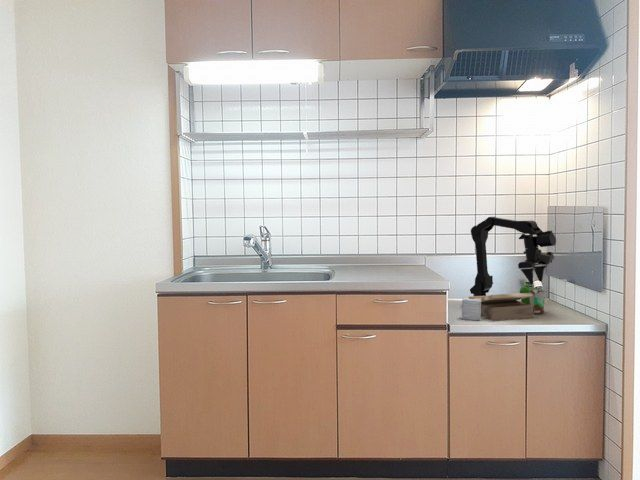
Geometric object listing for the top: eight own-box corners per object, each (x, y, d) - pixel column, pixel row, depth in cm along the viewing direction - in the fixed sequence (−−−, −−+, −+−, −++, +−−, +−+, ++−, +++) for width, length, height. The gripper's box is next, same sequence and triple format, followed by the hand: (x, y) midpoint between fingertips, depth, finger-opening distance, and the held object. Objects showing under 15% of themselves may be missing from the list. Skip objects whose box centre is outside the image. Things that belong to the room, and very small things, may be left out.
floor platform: (468, 311, 242) (468, 296, 242) (506, 308, 247) (506, 294, 246) (492, 320, 223) (492, 304, 222) (533, 318, 228) (533, 302, 227)
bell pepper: (534, 302, 263) (534, 282, 262) (539, 305, 255) (539, 285, 254) (517, 301, 264) (517, 282, 263) (521, 305, 256) (522, 285, 255)
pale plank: (477, 302, 234) (477, 299, 234) (516, 300, 239) (516, 297, 239) (492, 298, 223) (491, 294, 223) (532, 296, 228) (531, 292, 228)
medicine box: (480, 318, 227) (481, 299, 227) (480, 320, 223) (480, 301, 222) (462, 317, 230) (462, 298, 229) (461, 319, 226) (461, 300, 225)
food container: (548, 315, 233) (549, 293, 232) (534, 314, 234) (534, 293, 233) (542, 309, 245) (543, 288, 244) (529, 309, 246) (529, 288, 245)
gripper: (540, 247, 221) (545, 283, 220) (558, 245, 234) (563, 279, 233) (515, 250, 229) (520, 285, 228) (534, 247, 242) (538, 280, 241)
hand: (536, 282), depth 233 cm, fingers open, 9 cm apart
